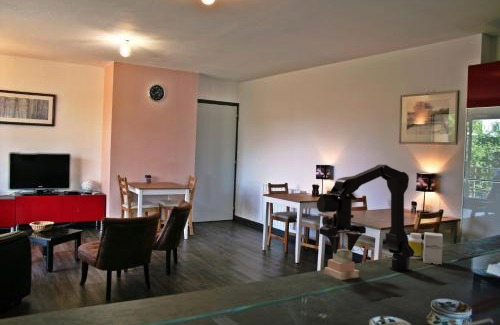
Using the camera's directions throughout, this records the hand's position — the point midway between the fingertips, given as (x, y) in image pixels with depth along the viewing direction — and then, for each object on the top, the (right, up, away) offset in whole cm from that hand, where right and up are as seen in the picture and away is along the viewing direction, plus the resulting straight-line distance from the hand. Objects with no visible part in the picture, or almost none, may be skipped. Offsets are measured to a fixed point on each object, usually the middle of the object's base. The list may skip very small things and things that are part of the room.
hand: (342, 252), depth 158 cm
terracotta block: (-1, -6, 0) cm, 6 cm away
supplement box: (+45, -10, +25) cm, 53 cm away
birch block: (0, -9, 0) cm, 9 cm away
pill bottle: (+41, -10, +33) cm, 53 cm away
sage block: (0, -3, 0) cm, 3 cm away
